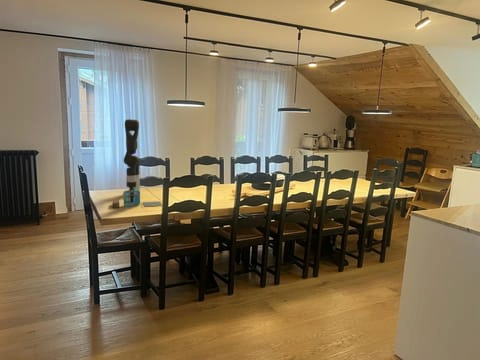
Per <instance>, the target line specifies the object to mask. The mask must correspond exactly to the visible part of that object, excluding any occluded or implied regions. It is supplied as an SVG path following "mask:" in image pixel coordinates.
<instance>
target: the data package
mask: <svg viewBox="0 0 480 360" xmlns="http://www.w3.org/2000/svg"><path fill="white" fill-rule="evenodd" d="M122 195H123V197H122V200H123V206H125V207H136V206H140V205H141V190H140V191H138V190H134V202H131V198H130V191H129V189H128V190H124V191H123V193H122ZM131 196H133V195H131Z"/></svg>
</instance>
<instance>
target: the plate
mask: <svg viewBox="0 0 480 360" xmlns="http://www.w3.org/2000/svg"><path fill="white" fill-rule="evenodd" d="M140 205H141V207H142V208H143V207H144V208H147V207H163V204H162V202H161V201H158V200H157V201H144V202H141V201H140Z"/></svg>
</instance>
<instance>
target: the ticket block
mask: <svg viewBox="0 0 480 360" xmlns="http://www.w3.org/2000/svg"><path fill="white" fill-rule="evenodd" d="M112 209H120V199H119V198H117V199H116V198H115V199H112Z"/></svg>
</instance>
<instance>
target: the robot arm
mask: <svg viewBox="0 0 480 360" xmlns="http://www.w3.org/2000/svg"><path fill="white" fill-rule="evenodd" d="M139 128H140V122H139V120H138V119H129V118H128V119H125V121H124V130H125V146H126V147H125V148H126V149H125V150H126V153H125V155H124V157H123V163H124V164H125V165H126V167H127V168H126V171H125V172H126V176H125V177H126V178H125V180H126V181H125V182H126V183H125V185H126V187H127V188H128V190H129V191H130V198H131V202H134V190H138V191H140V192H141V189H140V188H141V187H140V186H141V185H140V180H141V179H140V158H139V157H138V156H137V155H135V154H136V153H137V149H138V138H139V130H140V129H139ZM132 132H133V134H132ZM131 195H133V196H131Z"/></svg>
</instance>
